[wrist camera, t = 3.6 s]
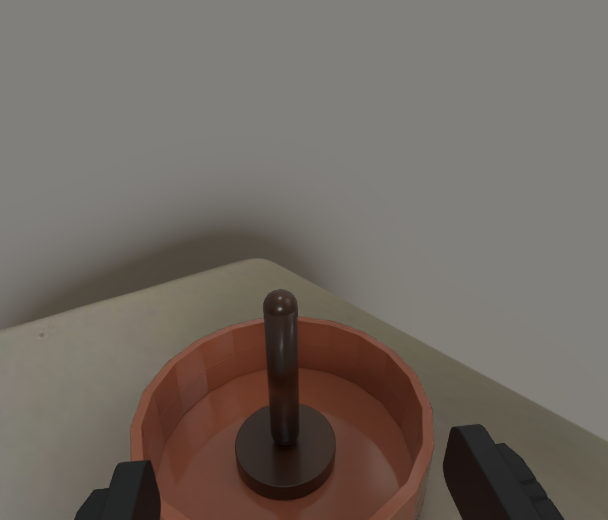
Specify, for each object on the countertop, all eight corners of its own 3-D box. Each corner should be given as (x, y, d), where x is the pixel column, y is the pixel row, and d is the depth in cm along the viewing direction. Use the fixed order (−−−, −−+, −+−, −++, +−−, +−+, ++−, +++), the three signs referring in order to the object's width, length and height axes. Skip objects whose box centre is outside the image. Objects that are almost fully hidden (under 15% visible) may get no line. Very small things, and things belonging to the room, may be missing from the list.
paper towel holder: (311, 403, 30) (312, 255, 25) (353, 477, 25) (365, 310, 19) (226, 430, 28) (206, 275, 23) (251, 517, 23) (233, 343, 17)
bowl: (343, 350, 37) (345, 298, 34) (484, 535, 23) (506, 470, 20) (141, 406, 31) (127, 349, 29) (162, 703, 17) (136, 640, 14)
